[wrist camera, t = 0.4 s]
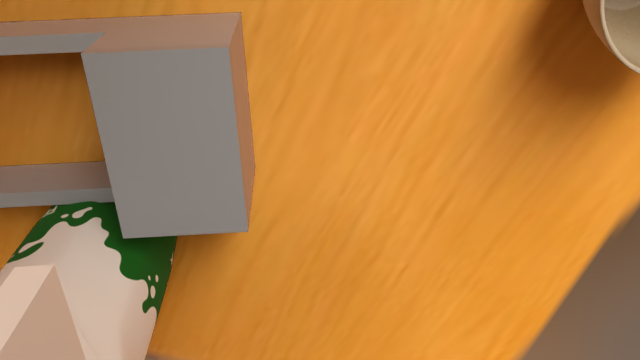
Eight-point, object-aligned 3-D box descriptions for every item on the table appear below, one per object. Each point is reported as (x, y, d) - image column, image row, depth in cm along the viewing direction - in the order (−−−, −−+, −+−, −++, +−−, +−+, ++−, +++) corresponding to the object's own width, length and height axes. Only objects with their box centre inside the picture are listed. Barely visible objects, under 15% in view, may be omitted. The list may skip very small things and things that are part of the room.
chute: (-199, 30, 34) (-335, 71, 26) (240, 12, 34) (228, 47, 27) (-128, 186, 38) (-226, 257, 31) (255, 166, 39) (248, 231, 32)
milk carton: (156, 289, 44) (70, 558, 26) (39, 248, 42) (-142, 512, 24) (199, 201, 41) (133, 441, 23) (74, 151, 38) (-107, 374, 21)
